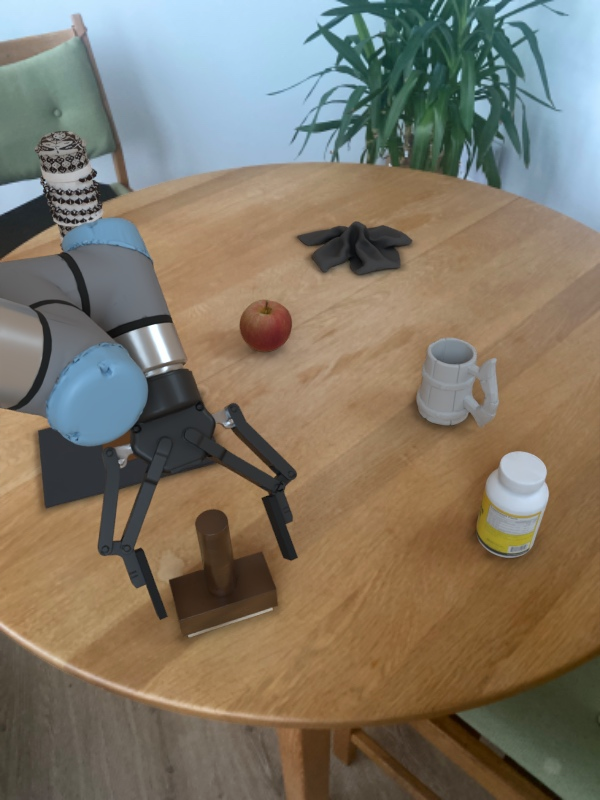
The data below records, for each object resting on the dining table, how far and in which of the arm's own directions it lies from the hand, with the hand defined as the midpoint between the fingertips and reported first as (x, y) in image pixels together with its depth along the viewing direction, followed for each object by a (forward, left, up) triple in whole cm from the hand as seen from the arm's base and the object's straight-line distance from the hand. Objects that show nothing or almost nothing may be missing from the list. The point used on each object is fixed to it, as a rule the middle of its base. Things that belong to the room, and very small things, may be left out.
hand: (228, 586), depth 65 cm
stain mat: (-6, +30, -7) cm, 31 cm away
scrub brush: (0, +2, -7) cm, 7 cm away
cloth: (+42, +68, -7) cm, 80 cm away
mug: (+37, +20, -7) cm, 42 cm away
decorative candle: (-5, +77, -7) cm, 77 cm away
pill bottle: (+32, 0, -7) cm, 32 cm away
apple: (+18, +45, -7) cm, 49 cm away
